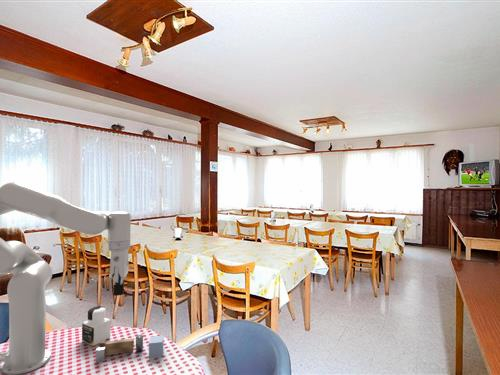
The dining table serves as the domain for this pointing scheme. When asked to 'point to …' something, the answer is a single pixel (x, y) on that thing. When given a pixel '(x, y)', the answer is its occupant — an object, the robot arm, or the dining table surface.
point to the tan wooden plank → (117, 346)
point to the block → (156, 346)
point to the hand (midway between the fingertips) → (118, 294)
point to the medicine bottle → (96, 326)
